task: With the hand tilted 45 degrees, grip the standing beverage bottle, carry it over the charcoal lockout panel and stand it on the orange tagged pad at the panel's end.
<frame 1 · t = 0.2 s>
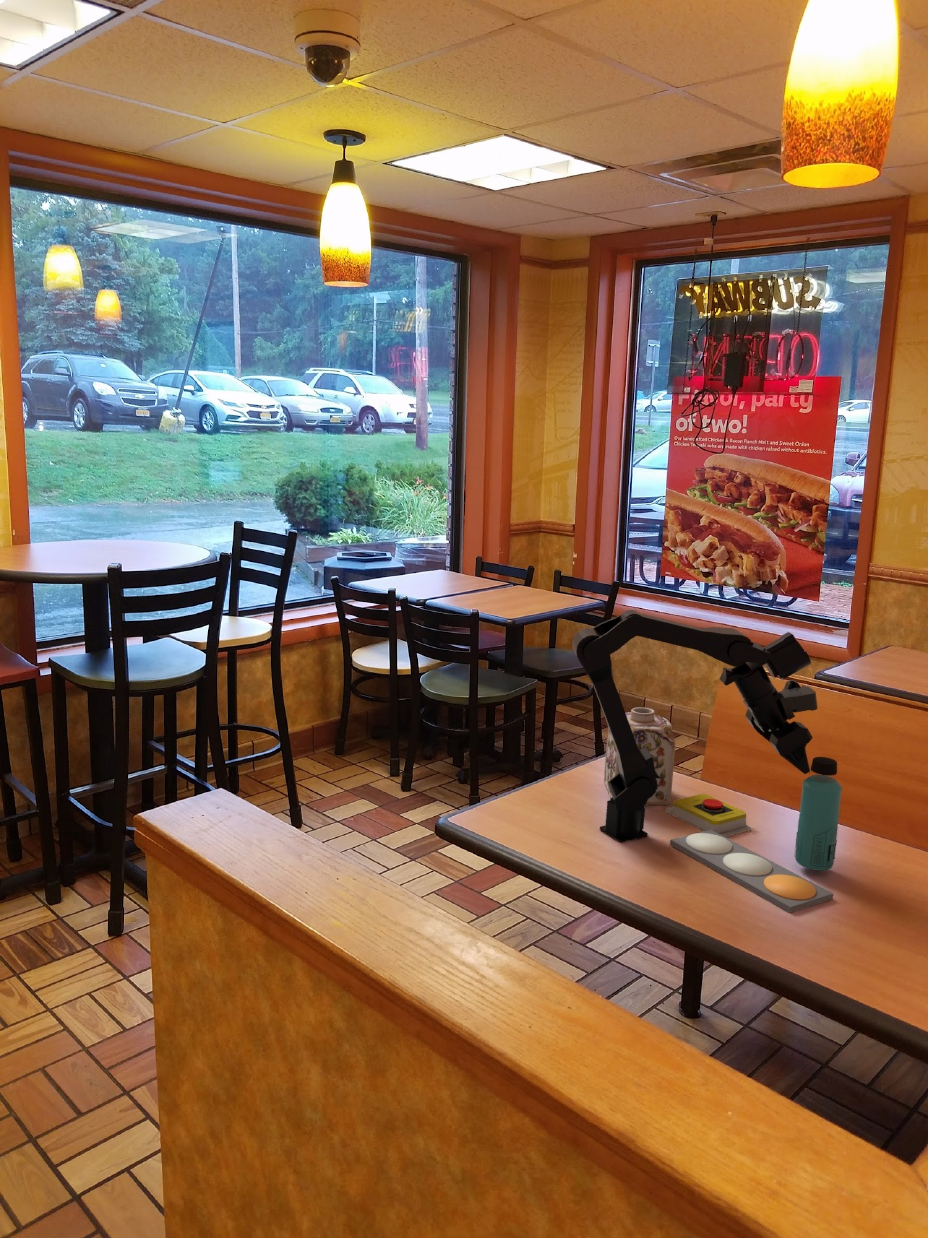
hand: (798, 763, 170), 15 cm above the table, tool tilted 35°, fingers open, 9 cm apart
decorative jar: (635, 795, 192), on the table
beverage bottle: (812, 871, 161), on the table
emergency button: (706, 822, 181), on the table
lockout panel: (746, 870, 160), on the table
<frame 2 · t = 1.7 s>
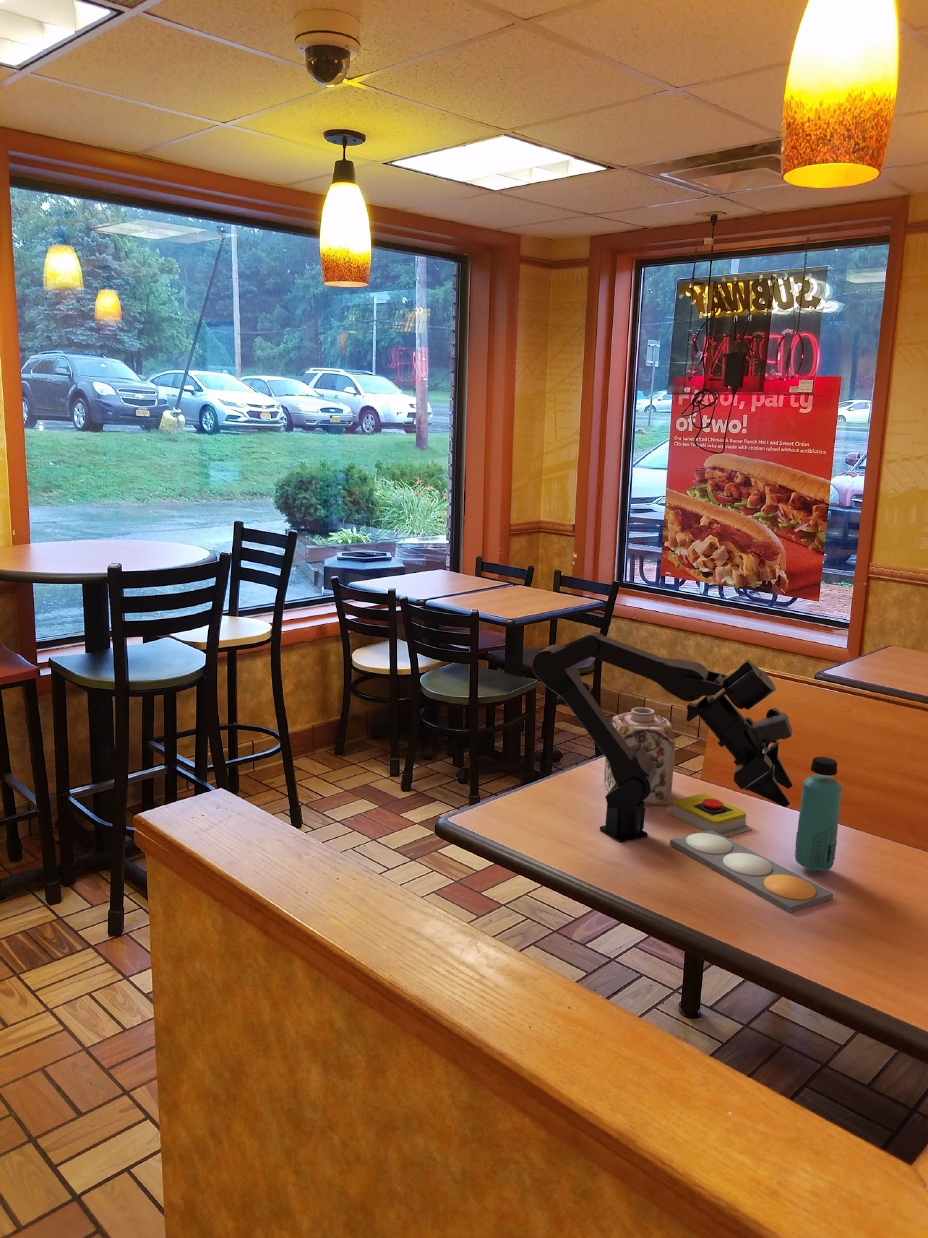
hand: (789, 796, 160), 13 cm above the table, tool tilted 45°, fingers open, 9 cm apart
nothing on the table moved.
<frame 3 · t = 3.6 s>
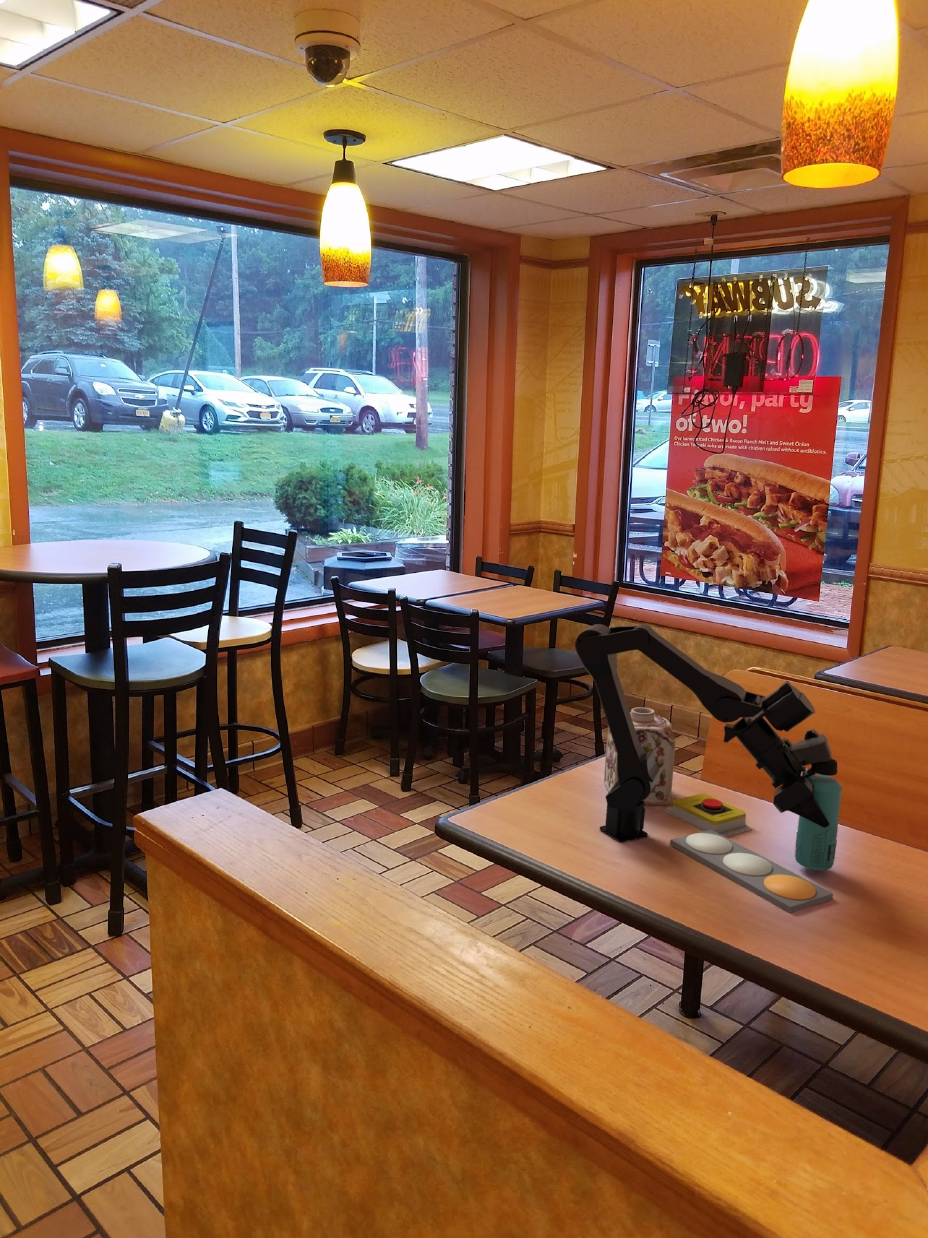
hand: (827, 819, 158), 10 cm above the table, tool tilted 45°, fingers closed on beverage bottle, 6 cm apart
beverage bottle: (812, 871, 161), on the table, touching gripper
everything else where it was.
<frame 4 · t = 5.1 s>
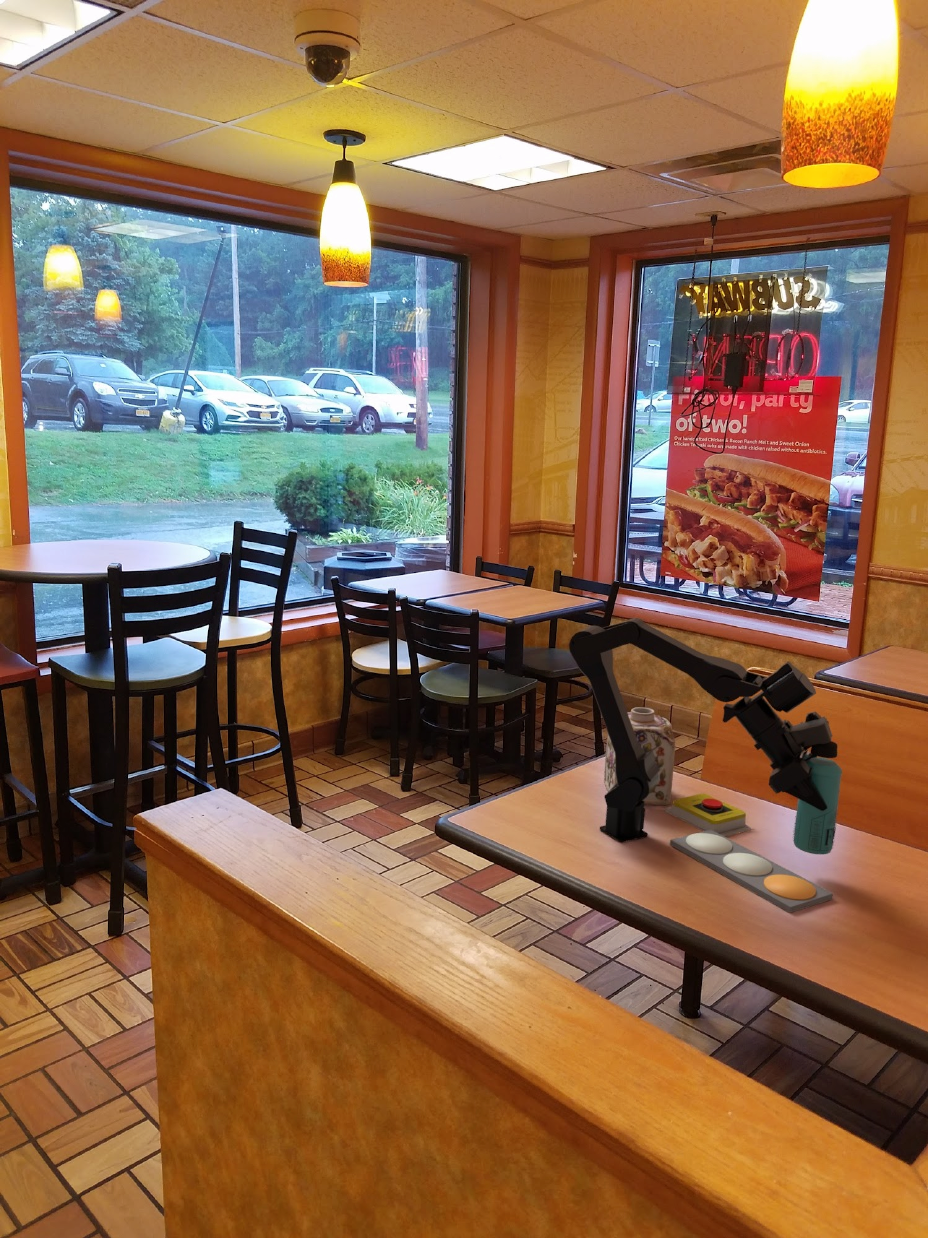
hand: (826, 802, 156), 13 cm above the table, tool tilted 45°, fingers closed on beverage bottle, 6 cm apart
beverage bottle: (810, 855, 158), point 3 cm above the table, touching gripper
everything else where it was.
when the fingers open (12 cm above the table, at t = 6.7 s): beverage bottle stays where it is, resting on lockout panel.
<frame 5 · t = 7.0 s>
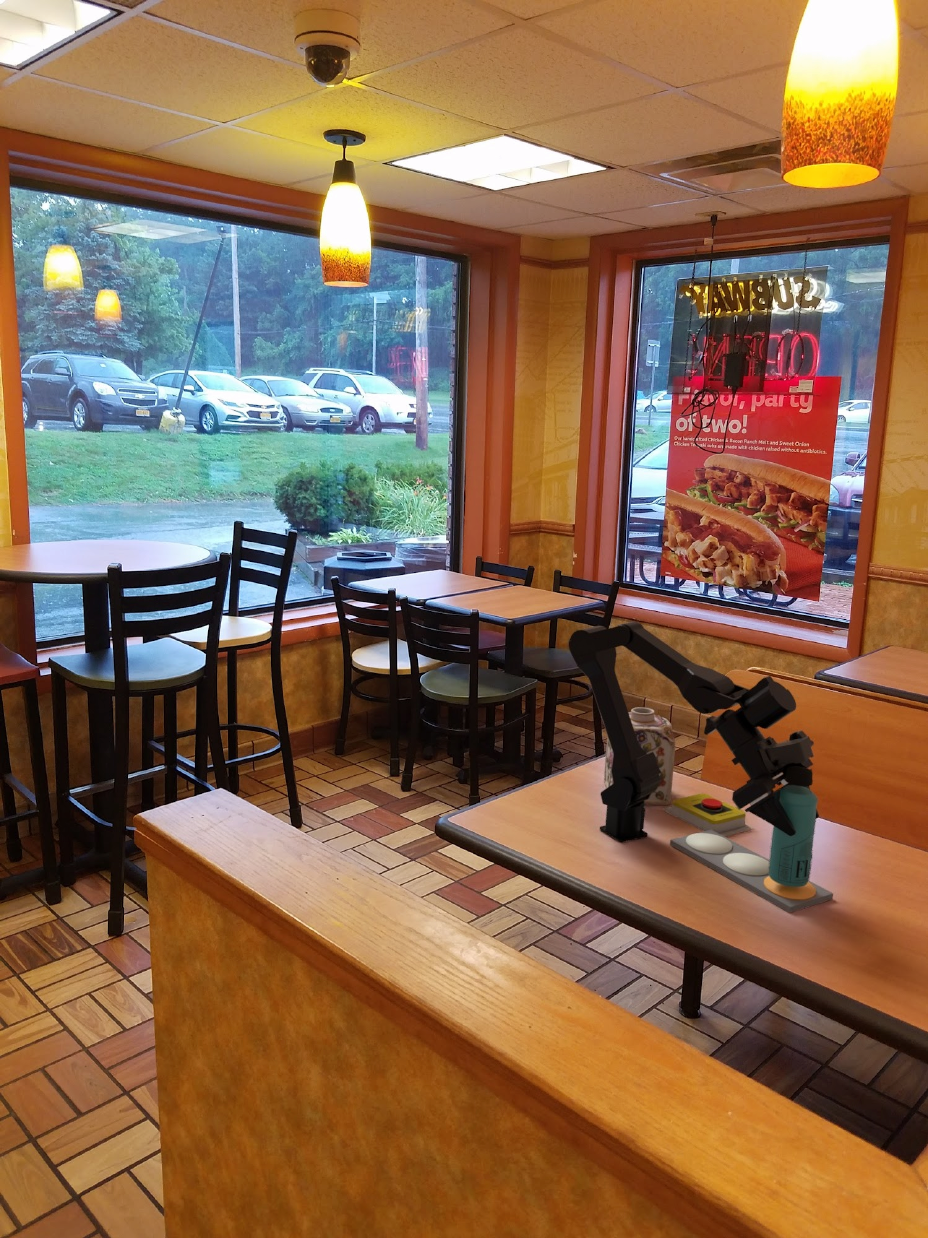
hand: (805, 826, 149), 12 cm above the table, tool tilted 45°, fingers open, 9 cm apart
beverage bottle: (787, 887, 152), point 1 cm above the table, touching lockout panel
everything else where it was.
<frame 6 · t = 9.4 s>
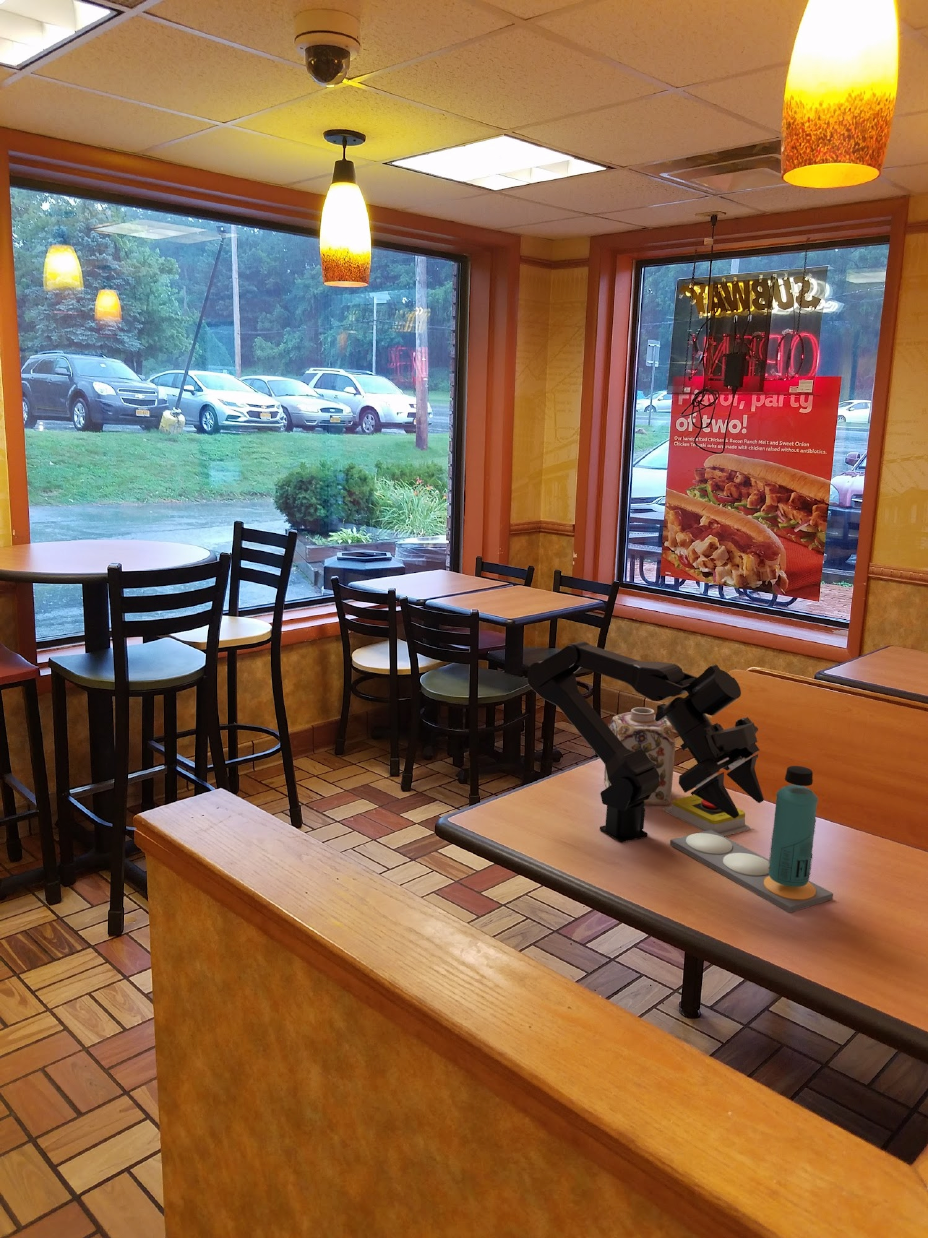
hand: (749, 809, 155), 12 cm above the table, tool tilted 45°, fingers open, 9 cm apart
nothing on the table moved.
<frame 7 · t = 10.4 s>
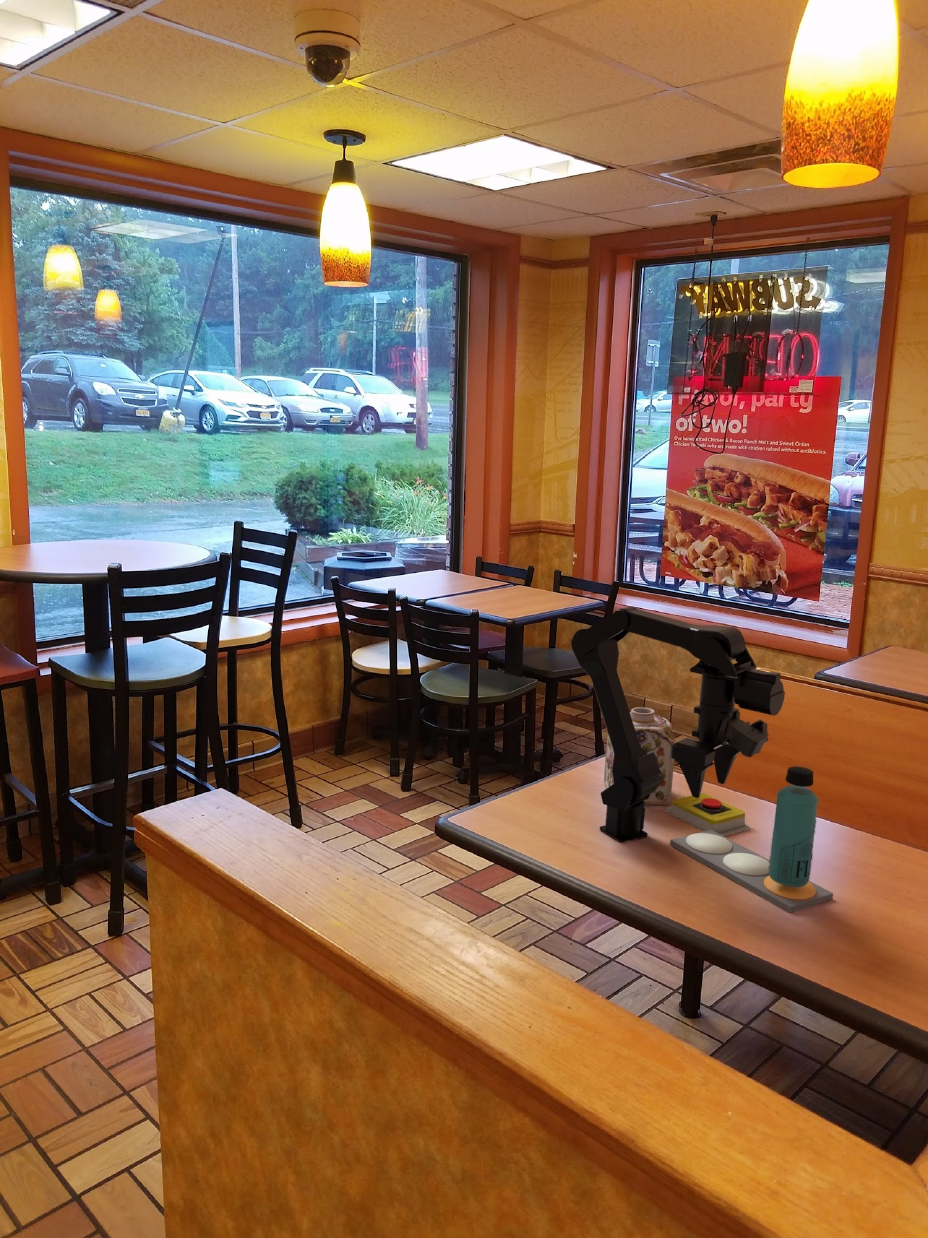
hand: (708, 790, 160), 13 cm above the table, tool pointing down, fingers open, 9 cm apart
nothing on the table moved.
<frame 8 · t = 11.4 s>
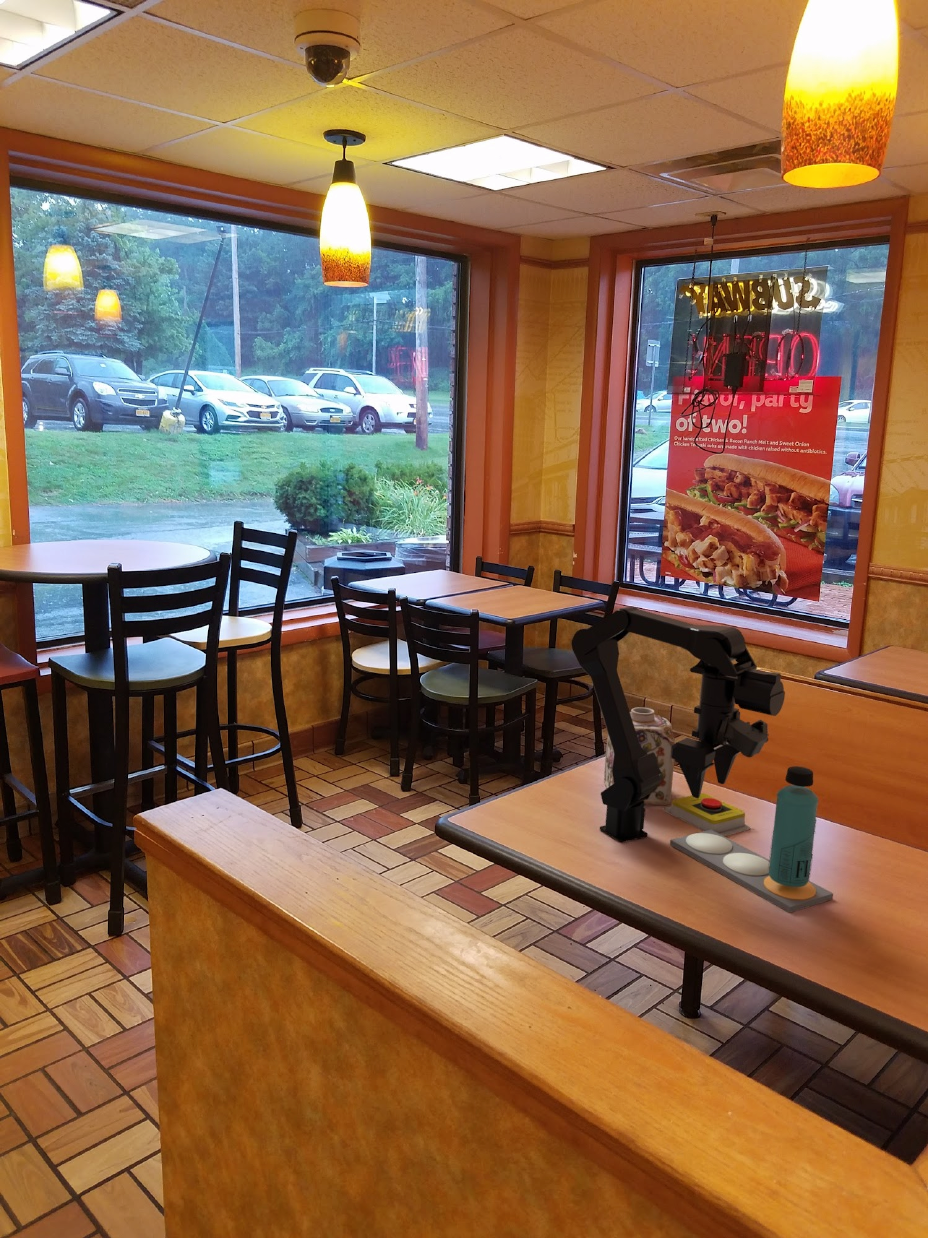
hand: (708, 790, 160), 13 cm above the table, tool pointing down, fingers open, 9 cm apart
nothing on the table moved.
at the end: beverage bottle 0.5 cm from the target spot on the lockout panel, point 1.1 cm above the lockout panel's base; beverage bottle tilted 1°; the gripper is holding nothing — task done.
